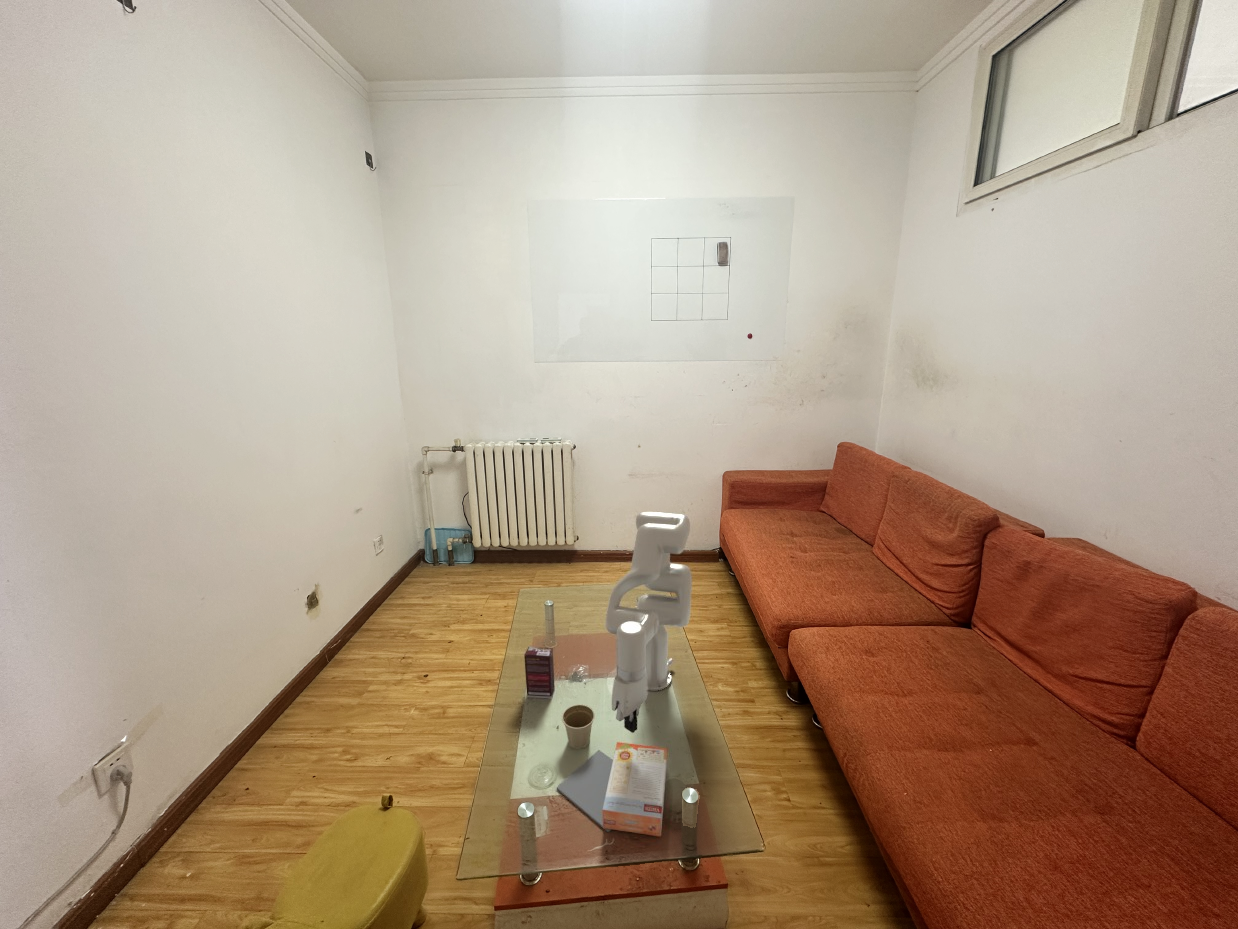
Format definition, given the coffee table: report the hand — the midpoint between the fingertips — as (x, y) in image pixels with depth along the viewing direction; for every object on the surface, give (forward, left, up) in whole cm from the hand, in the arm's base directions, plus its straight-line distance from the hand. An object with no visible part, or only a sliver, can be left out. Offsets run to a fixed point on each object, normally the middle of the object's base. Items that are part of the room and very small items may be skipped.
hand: (630, 728), depth 131 cm
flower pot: (+3, -17, -12) cm, 21 cm away
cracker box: (-3, +2, -9) cm, 9 cm away
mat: (+10, -1, -12) cm, 16 cm away
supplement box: (-3, -41, -12) cm, 43 cm away
